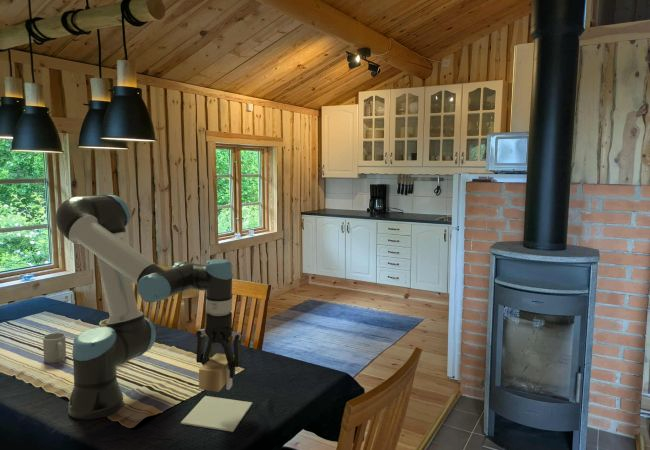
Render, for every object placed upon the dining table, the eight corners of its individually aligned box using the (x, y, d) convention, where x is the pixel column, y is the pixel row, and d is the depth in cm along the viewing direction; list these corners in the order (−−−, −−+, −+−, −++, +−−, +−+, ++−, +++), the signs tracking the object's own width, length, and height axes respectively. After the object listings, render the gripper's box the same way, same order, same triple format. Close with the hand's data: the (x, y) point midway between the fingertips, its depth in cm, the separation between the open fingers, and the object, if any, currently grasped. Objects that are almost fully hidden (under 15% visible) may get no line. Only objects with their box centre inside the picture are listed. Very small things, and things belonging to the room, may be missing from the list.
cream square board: (180, 423, 138) (180, 422, 138) (205, 397, 154) (205, 395, 154) (232, 431, 135) (232, 430, 135) (252, 403, 151) (252, 402, 151)
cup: (61, 353, 182) (60, 331, 181) (72, 361, 176) (72, 338, 175) (40, 359, 177) (39, 336, 175) (51, 367, 170) (50, 343, 169)
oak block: (218, 391, 135) (234, 373, 147) (218, 371, 135) (234, 355, 146) (199, 389, 137) (216, 371, 148) (198, 369, 136) (216, 353, 147)
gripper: (183, 312, 138) (183, 388, 141) (245, 319, 135) (244, 396, 138) (194, 305, 145) (195, 377, 148) (254, 311, 142) (253, 384, 145)
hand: (218, 386), depth 143 cm, fingers closed on oak block, 6 cm apart
